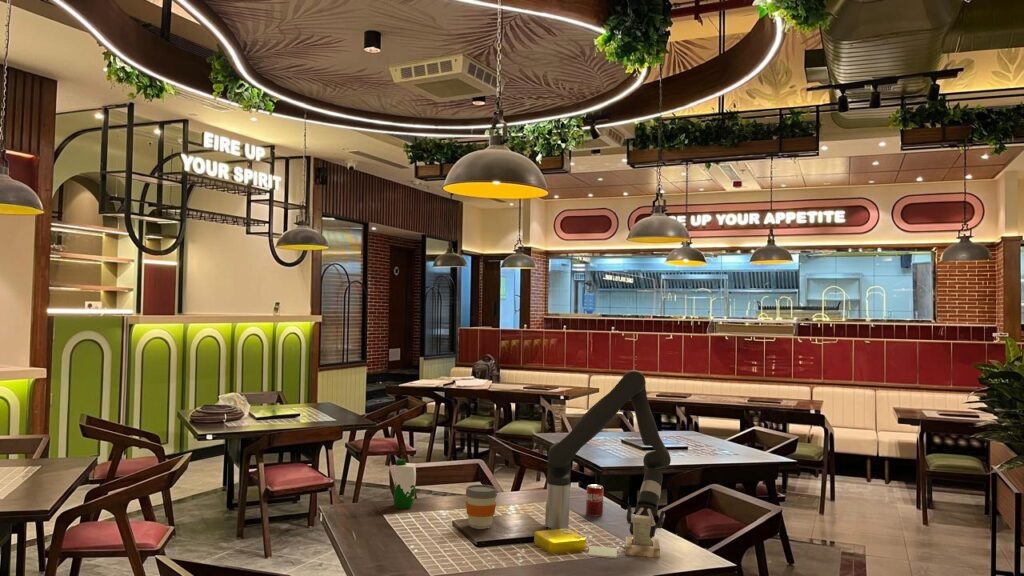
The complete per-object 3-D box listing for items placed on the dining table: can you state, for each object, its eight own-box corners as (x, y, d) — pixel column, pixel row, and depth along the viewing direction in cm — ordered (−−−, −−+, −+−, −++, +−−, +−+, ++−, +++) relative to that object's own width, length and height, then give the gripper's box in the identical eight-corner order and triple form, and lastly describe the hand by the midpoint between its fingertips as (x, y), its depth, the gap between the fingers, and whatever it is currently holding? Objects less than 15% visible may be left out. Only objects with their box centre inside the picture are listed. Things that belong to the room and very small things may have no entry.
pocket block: (625, 554, 253) (625, 546, 253) (625, 544, 265) (625, 536, 265) (659, 557, 251) (660, 549, 252) (658, 547, 263) (658, 539, 263)
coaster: (588, 556, 250) (588, 554, 250) (589, 547, 260) (589, 545, 260) (616, 558, 249) (616, 556, 249) (617, 549, 259) (617, 548, 259)
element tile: (532, 543, 265) (532, 529, 265) (567, 539, 271) (567, 526, 271) (551, 555, 251) (551, 541, 251) (587, 551, 257) (588, 537, 258)
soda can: (602, 517, 303) (603, 488, 304) (585, 515, 305) (586, 487, 305) (603, 513, 310) (604, 485, 311) (586, 511, 312) (587, 483, 312)
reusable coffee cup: (458, 528, 279) (460, 489, 280) (472, 520, 291) (474, 483, 292) (488, 532, 275) (489, 493, 275) (500, 524, 286) (502, 486, 287)
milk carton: (395, 503, 314) (397, 457, 315) (415, 504, 314) (417, 458, 315) (391, 508, 305) (393, 461, 306) (412, 509, 305) (414, 462, 306)
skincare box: (651, 550, 259) (652, 516, 260) (650, 553, 255) (650, 519, 256) (634, 547, 261) (635, 514, 262) (632, 551, 257) (633, 516, 258)
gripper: (629, 487, 269) (620, 526, 258) (667, 492, 263) (659, 532, 252) (632, 498, 274) (623, 537, 262) (669, 503, 268) (662, 544, 257)
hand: (641, 535), depth 257 cm, fingers closed on skincare box, 6 cm apart
